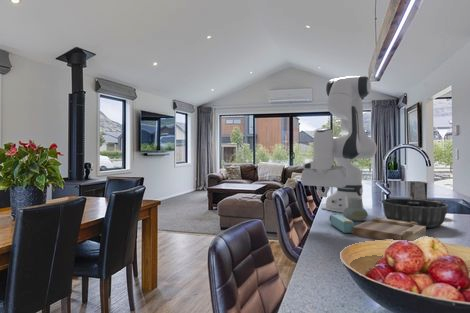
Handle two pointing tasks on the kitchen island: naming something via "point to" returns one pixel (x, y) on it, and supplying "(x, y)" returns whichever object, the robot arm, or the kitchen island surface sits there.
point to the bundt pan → (416, 211)
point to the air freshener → (355, 210)
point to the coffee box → (418, 190)
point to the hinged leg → (341, 223)
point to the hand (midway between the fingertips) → (323, 196)
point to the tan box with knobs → (390, 229)
